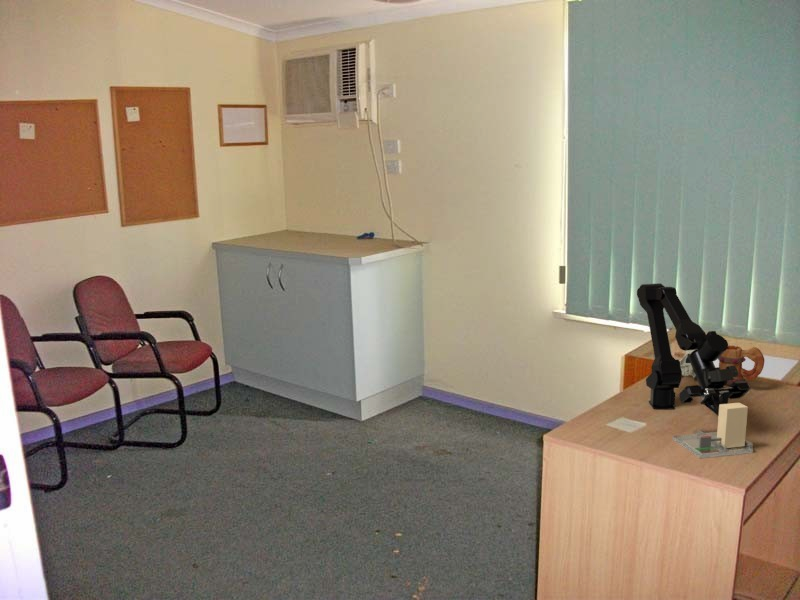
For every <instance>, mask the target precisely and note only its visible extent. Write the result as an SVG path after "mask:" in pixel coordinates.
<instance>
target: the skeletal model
mask: <svg viewBox="0 0 800 600" xmlns="http://www.w3.org/2000/svg"><path fill="white" fill-rule="evenodd" d="M693 351H694V350H686V351H685V354H684V355H683V356H682V358H681V359H678V360H679V361H680V367H681V371H682V377H687V376H690V377H691V376H692V377H693V378H694V377H695V376H696V375H695V373H694V370H693V368H692V366H691V363H686V358H687V356H688V354H691V353H692V352H693Z"/></svg>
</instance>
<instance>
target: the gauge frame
mask: <svg viewBox="0 0 800 600" xmlns="http://www.w3.org/2000/svg"><path fill="white" fill-rule="evenodd" d="M706 435H711V438H717V431H710V432H704V431H702V430H701V429H697V431H696V433H690V434H681V435H673V436H672V440H673V441H675V442H676V443H677V444H678V445H680V446H682V447H683V448H685V450H687V451H689V452H690V453H692V454H693V455H694V456H695V457H697V458H699V459H705V458H707V459H708V458H715V457H716V458H717V457H725V456H734V455H735V456H736V455H744V454H752V453H754V448H753V447H754V443H753V442H751V441H749V440H747V439H745V446H741V447H731V448H726V446H725V445H723V444H721V443H720V442H718V441H712V442H711V447H706V448H700V447H699V442H700V436H706Z"/></svg>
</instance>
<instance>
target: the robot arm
mask: <svg viewBox="0 0 800 600" xmlns="http://www.w3.org/2000/svg"><path fill="white" fill-rule="evenodd" d="M636 296H637V298H638V302H639V305H640V306H641V308H642V310H644V311H645V312H646V315H647V321H648V325H649V326H648V327H649V330H650V336H651V342H652V348H653V355H654V358H653V359H654V360H653V362H652V364H651V367H650V368H651V373H650V374H649V375H648V376H647V377H646V379H645V384H646V386H647V387H648V388H650V398H649V400H648V404H649V405H650V406H651V408H653V410H675V409H676V407H675V405H676V392H675V389H679V388H680V385H681V383H682V377H683V376H682V371H681V367H680V364H681V362H680V361H679V360H680V359H678V358H677V359H676V358H675V357H674V356H673V355H672V350H671V343H670V340H669V335H668V329H667V323H666V318H665V312H666V314H667V316H668V317H669V319H670V321H671V323H672V324H673V326H674V328H675V339H676V343H677V345H678V347H679V348H680V350H682V351H685V352H686V350H694V351H693V352H692V353H691V354H688V356H687V358H686V364H687V363H691V366H692V368H693V373H695V375H696V376H695V375H694V376H695V377H693V380H694V382H698V384H696V385H693V384H692V385H686V386H685V387H684V389H682V390H681V391H680V393H679V394H678V399H679V402H680V403H681V404H691V403H692V402H693V398H696V397H698V398H699V397H701V401H700V405H704V406H705V407H706V408H708V409H709V410H710V411H712V413H714V414H715V415H716V416H717V417H718V416H719V405H720V404H729V399H730V400H733V399H734V400H736V399H741V398H743V397H744V396H745V395H746V394H747V393H748V392H749V391H751V387H750V384H749V383H748V382H747V381H746V380H745V381H739V382H733V383H732V384H731V385H730V386H729V387H724V385H726V384H727V383H728V382H727V381H729V380H734V377H738V370H737V368H736V367H735V365H733V366H727V367H726V369H720V368H719V366H718V367H717V366H716V365H715V364H714V362H715V361H716V360H718V358H719V357H720V356H721V355H722V354H723V353H724V352H725V351H726V350H727V348H728V346H729V342H728V340H727V339H726V338H724V336H723V335H721V334H718V333H717V332H716V330H711V331H710V330H709V331H707V333H706V332H705V331H704V329H702V327H701V325H699V324H697V323H696V322H693V321H692V319H691V317H690V316H689V313H688V312H687V310H686V309H685V307H684V304H683V303H682V301H681V300H680V298H679V296H678V295H677V289H676V288H675V287H673V286H665V285H663V284H662V283H660V282H659V283H643V284H640V286H639V287H638V288H637V289H636ZM664 310H665V312H664Z"/></svg>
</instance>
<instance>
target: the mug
mask: <svg viewBox="0 0 800 600" xmlns="http://www.w3.org/2000/svg"><path fill="white" fill-rule="evenodd" d="M746 358H748V359H749V360H751V361H752V362H753V363H754V365H753V368H752V369H749V370H748V369H745V368H743V363H744V362H746ZM717 360H718V367H719V368H720V369H726V367H727V366H733V365H735V367H736V368H737V370H738V377H734V380H729V381H727V382H728V383H727V384H726V385H724V387H729V386H730V385H731V384H732V383H733V382H739V381H745V382H746V379H747V380H748V381H753V380H756V379H757V377H759V375H761V373H762V371H763V370H764V365H765V356H764V354H763V352H762V351H761V350H760V349H759V348H758V347H755V346H753V347H751V348H749V349H742V347H740V346H735V345H729V344H728V348H727V350H726V351H725V352H724V353H723V354H722V355H721V356H720V357H719V358H718V359H717ZM745 378H746V379H745Z"/></svg>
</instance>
